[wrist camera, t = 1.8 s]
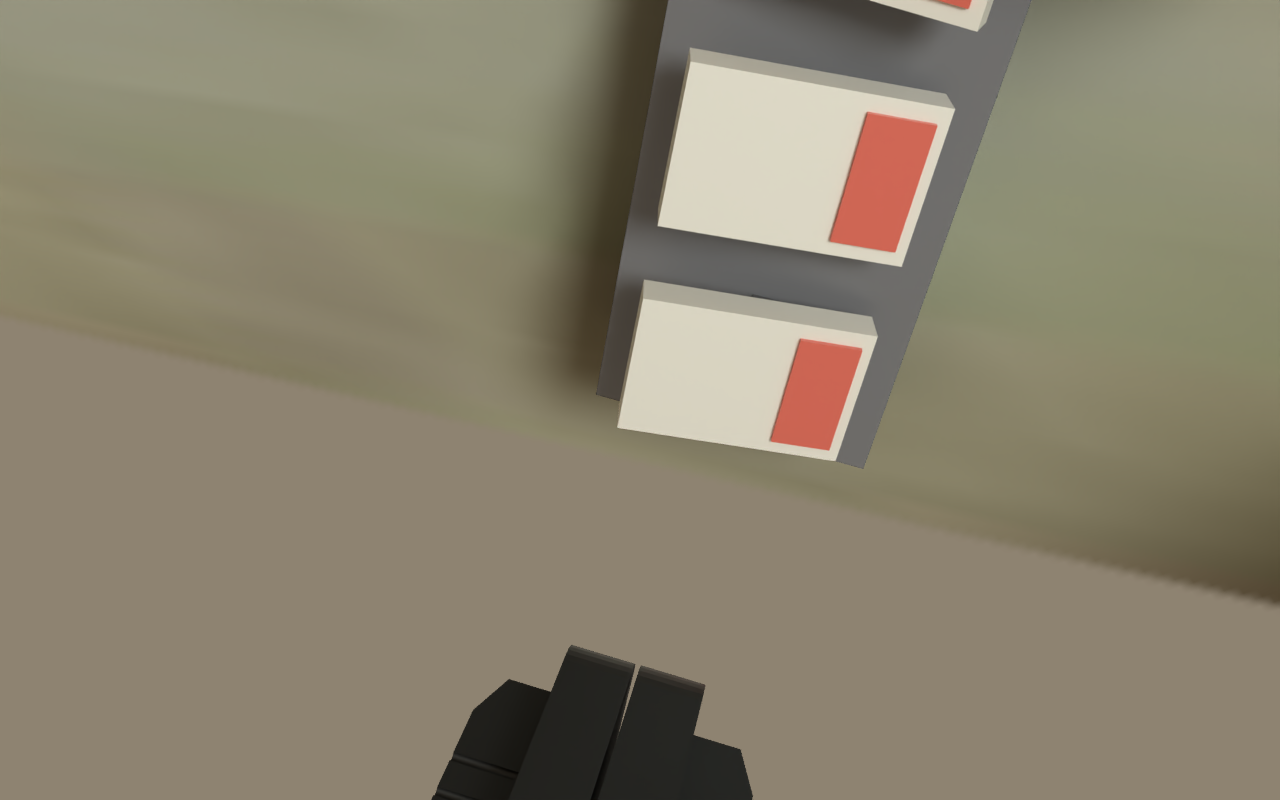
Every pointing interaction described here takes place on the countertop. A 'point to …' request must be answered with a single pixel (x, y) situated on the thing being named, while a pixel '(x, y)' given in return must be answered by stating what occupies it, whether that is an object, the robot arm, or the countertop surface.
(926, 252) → the power strip
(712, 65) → the rocker middle
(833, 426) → the rocker
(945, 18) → the rocker
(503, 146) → the countertop surface
